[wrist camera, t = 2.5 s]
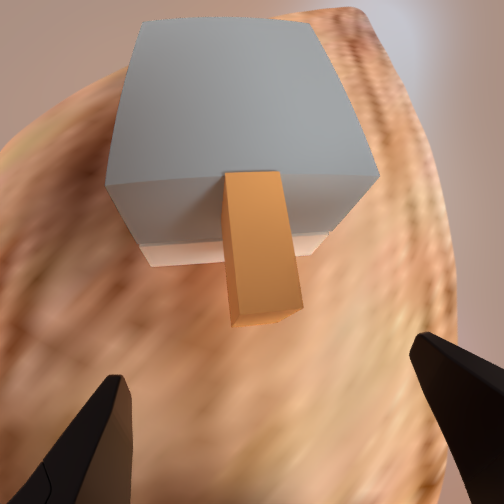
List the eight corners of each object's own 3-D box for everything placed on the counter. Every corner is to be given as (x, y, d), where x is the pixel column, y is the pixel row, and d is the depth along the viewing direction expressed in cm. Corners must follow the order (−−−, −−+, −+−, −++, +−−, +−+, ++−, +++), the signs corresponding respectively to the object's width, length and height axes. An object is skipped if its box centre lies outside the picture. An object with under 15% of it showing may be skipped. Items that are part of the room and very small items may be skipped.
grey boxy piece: (348, 316, 16) (415, 290, 10) (139, 337, 14) (96, 323, 8) (291, 83, 22) (310, 21, 16) (150, 85, 20) (142, 19, 14)
